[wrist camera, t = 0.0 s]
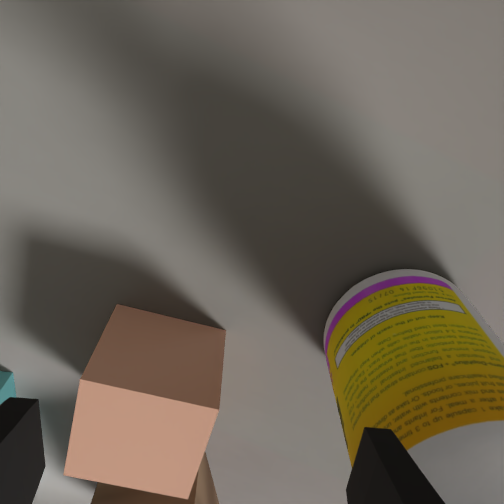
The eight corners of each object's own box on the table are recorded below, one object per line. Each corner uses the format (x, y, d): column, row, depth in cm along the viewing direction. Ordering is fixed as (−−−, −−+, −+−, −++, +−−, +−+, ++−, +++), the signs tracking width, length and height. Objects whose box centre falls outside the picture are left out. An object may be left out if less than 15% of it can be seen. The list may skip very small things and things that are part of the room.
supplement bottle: (290, 329, 21) (338, 687, 10) (407, 233, 19) (643, 541, 8) (383, 406, 23) (514, 780, 12) (498, 327, 21) (793, 684, 10)
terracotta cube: (199, 408, 23) (187, 499, 19) (100, 387, 23) (63, 475, 18) (225, 329, 21) (219, 409, 17) (117, 303, 21) (80, 378, 16)
